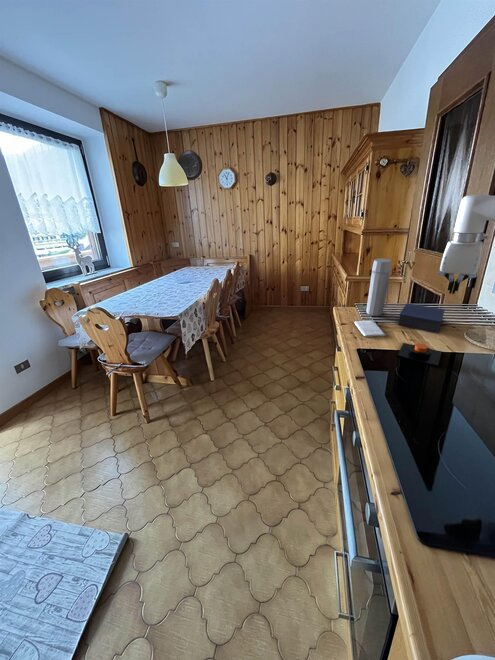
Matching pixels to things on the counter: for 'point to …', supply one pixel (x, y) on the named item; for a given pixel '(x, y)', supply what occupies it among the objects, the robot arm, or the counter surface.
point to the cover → (422, 313)
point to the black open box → (419, 324)
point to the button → (421, 348)
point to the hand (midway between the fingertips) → (451, 292)
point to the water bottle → (378, 287)
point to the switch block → (420, 355)
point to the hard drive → (369, 328)
